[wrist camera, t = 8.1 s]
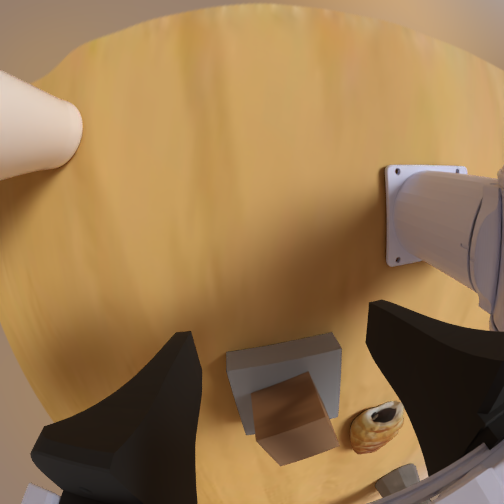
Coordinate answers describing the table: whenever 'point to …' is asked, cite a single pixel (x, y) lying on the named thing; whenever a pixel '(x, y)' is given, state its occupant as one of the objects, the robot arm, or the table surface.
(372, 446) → the pastry
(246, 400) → the block
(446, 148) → the table surface
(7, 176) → the drinking glass
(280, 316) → the table surface
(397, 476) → the coffeepot
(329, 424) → the walnut cube
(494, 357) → the robot arm
